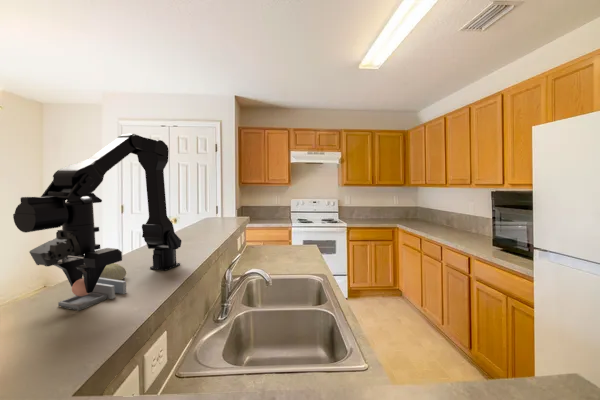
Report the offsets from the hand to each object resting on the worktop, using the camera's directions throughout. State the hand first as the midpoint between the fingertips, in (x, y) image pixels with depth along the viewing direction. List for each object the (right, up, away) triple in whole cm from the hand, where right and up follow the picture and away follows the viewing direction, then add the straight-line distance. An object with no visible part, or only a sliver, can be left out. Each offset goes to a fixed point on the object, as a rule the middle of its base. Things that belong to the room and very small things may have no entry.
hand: (83, 291), depth 65 cm
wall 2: (+1, -2, +7) cm, 7 cm away
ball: (0, -1, 0) cm, 1 cm away
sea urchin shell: (-4, -2, +14) cm, 14 cm away
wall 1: (0, -2, +4) cm, 5 cm away
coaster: (0, -3, 0) cm, 3 cm away
